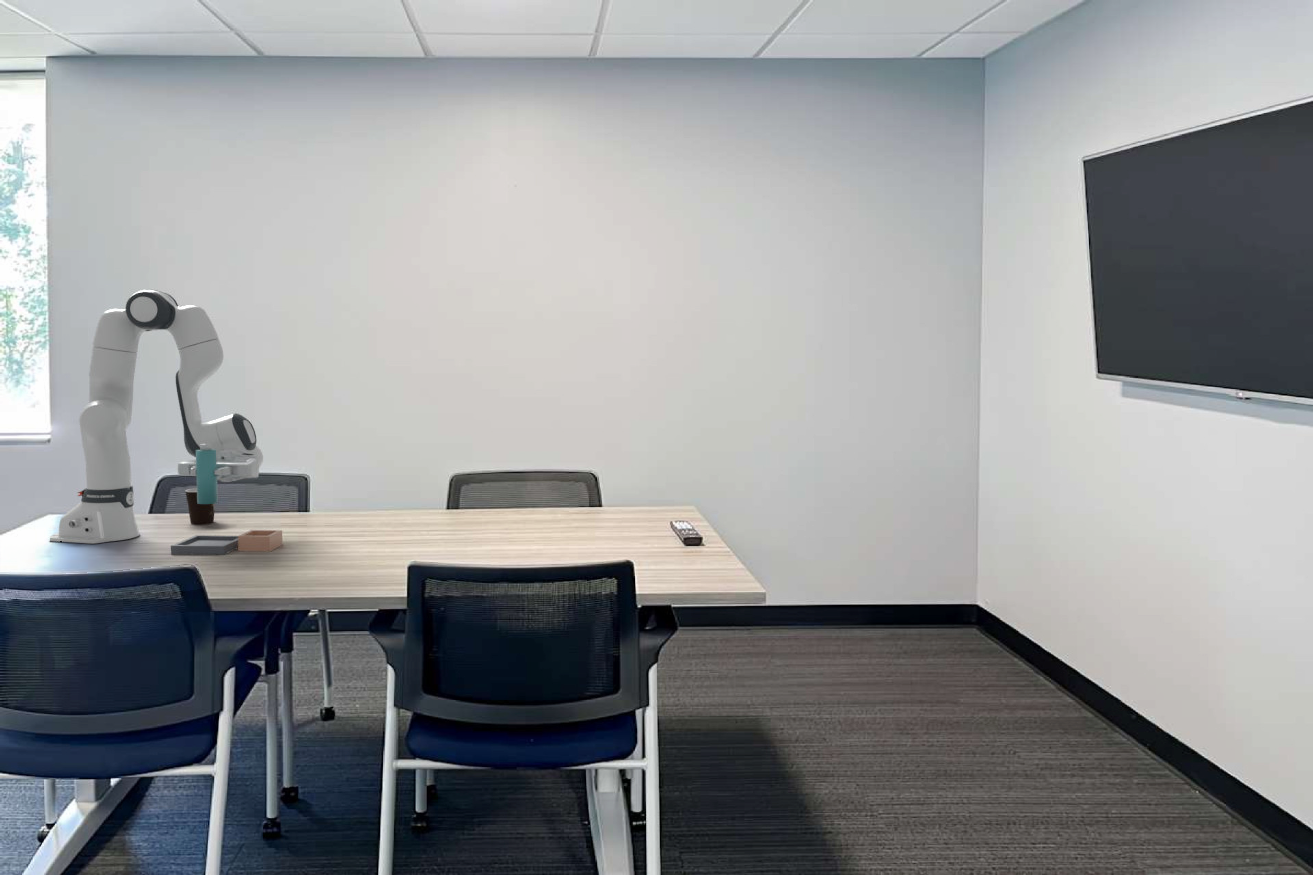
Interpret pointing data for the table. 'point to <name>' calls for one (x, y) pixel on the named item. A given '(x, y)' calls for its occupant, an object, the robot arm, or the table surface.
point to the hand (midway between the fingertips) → (205, 472)
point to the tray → (206, 545)
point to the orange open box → (260, 540)
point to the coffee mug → (199, 509)
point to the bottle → (206, 475)
